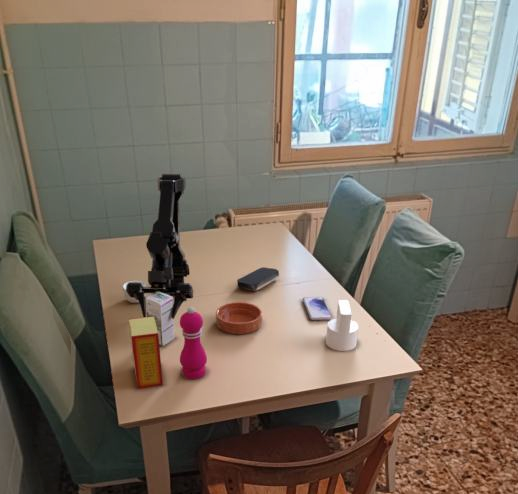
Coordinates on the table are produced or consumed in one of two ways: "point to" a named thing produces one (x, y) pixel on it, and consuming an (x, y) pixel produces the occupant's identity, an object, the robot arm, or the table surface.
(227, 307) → the bowl
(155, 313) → the syrup box
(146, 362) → the baking soda box
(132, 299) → the teacup
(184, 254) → the robot arm
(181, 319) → the pepper mill
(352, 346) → the cylinder with rectangular tab
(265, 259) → the table surface
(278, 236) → the table surface
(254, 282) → the black sponge
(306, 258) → the table surface
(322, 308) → the smartphone
